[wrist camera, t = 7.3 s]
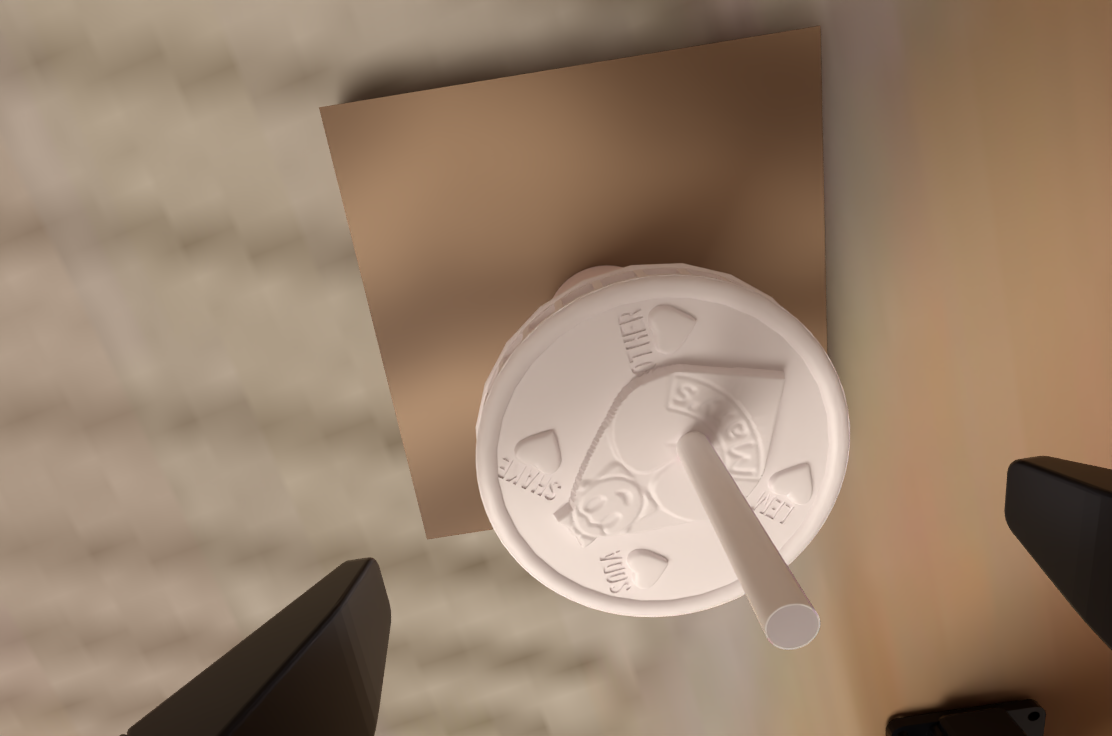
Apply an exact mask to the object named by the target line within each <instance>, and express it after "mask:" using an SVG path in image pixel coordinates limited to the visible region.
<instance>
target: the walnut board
mask: <svg viewBox="0 0 1112 736" xmlns="http://www.w3.org/2000/svg"><path fill="white" fill-rule="evenodd" d="M319 109H320V113H321V117H322V121H323V125H324V129H325V133H326V137H327V141H328V145H329V149H330V153H331V157H332V161H333V165H334V169H335V173H336V177H337V181H338V185H339V189H340V193H341V197H342V201H343V205H344V209H345V213H346V217H347V221H348V225H349V229H350V233H351V237H352V241H353V245H354V249H355V253H356V257H357V261H358V265H359V269H360V273H361V277H362V281H363V285H364V289H365V293H366V297H367V301H368V305H369V309H370V313H371V317H372V321H373V325H374V329H375V333H376V337H377V341H378V345H379V349H380V353H381V357H382V361H383V365H384V369H385V373H386V377H387V381H388V385H389V389H390V393H391V397H392V401H393V405H394V409H395V413H396V417H397V421H398V425H399V429H400V433H401V437H402V441H403V445H404V449H405V453H406V457H407V461H408V465H409V469H410V473H411V477H412V481H413V485H414V489H415V493H416V497H417V501H418V505H419V509H420V513H421V517H422V521H423V525H424V529H425V533H426V537H427V539H433V538H439V537H446V536H452V535H459V534H465V533H472V532H479V531H485V530H492V529H493V527H492V525H491V523H490V520H489V518H488V516H487V514H486V511H485V508H484V505H483V502H482V499H481V495H480V491H479V486H478V481H477V472H476V442H477V439H476V423H477V418H478V413H479V409H480V404H481V399H482V394H483V389H484V385H485V382H486V380H487V378H488V377H489V375H490V373H491V371H492V369H493V367H494V365H495V363H496V361H497V359H498V358H499V356H500V354H501V352H502V350H503V348H504V346H505V344H506V342H507V341H508V340H509V339H510V338H511V337H512V336H513V335H514V334H515V333H516V332H517V331H518V330H519V328H520V327H521V326H522V325H523V324H524V323H525V322H526V321H527V320H528V319H529V318H530V317H531V316H532V315H533V314H534V312H535V311H536V310H537V309H538V308H539V307H540V306H542V305H543V304H545V303H547V302H548V301H550V300H551V299H552V298H553V297H554V295H555V293H556V292H557V291H558V289H559V288H560V287H561V286H562V285H563V283H565V282H566V281H567V280H568V279H569V278H570V277H572V276H573V275H575V274H577V273H578V272H580V271H583V270H585V269H588V268H591V267H595V266H604V265H610V266H619V267H623V268H624V267H627V266H630V265H647V264H672V263H684V264H688V265H692V266H697V267H701V268H705V269H710V270H714V271H718V272H723V273H727V274H731V275H733V276H734V277H736V278H738V279H740V280H742V281H743V282H745V283H747V284H749V285H751V286H752V287H754V288H756V289H758V290H760V291H761V292H763V293H765V294H767V295H769V296H770V297H772V298H773V299H774V300H775V301H776V302H777V303H778V304H779V305H780V306H781V307H783V308H784V309H786V310H787V311H788V312H789V313H791V314H792V315H793V316H794V317H796V318H797V319H798V320H799V321H800V322H801V323H802V324H803V325H804V326H805V327H806V328H807V329H808V330H809V331H810V332H811V333H812V334H813V336H814V337H815V338H816V339H817V341H818V342H819V343H820V344H821V346H822V347H823V349H824V350H825V352H826V353H827V319H826V270H825V222H824V174H823V125H822V77H821V29H820V26H815V27H809V28H803V29H796V30H790V31H784V32H778V33H772V34H766V35H760V36H754V37H748V38H741V39H735V40H729V41H723V42H717V43H711V44H705V45H699V46H692V47H686V48H680V49H674V50H668V51H662V52H656V53H650V54H644V55H637V56H631V57H625V58H619V59H613V60H607V61H601V62H595V63H588V64H582V65H576V66H570V67H564V68H558V69H552V70H546V71H539V72H533V73H527V74H521V75H515V76H509V77H503V78H497V79H491V80H484V81H478V82H472V83H466V84H460V85H454V86H448V87H442V88H435V89H429V90H423V91H417V92H411V93H405V94H399V95H393V96H387V97H380V98H374V99H368V100H362V101H356V102H350V103H344V104H338V105H331V106H325V107H319Z"/></svg>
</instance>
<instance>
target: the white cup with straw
mask: <svg viewBox="0 0 1112 736" xmlns="http://www.w3.org/2000/svg"><path fill="white" fill-rule="evenodd" d="M476 439H477V442H476V472H477V481H478V486H479V491H480V495H481V499H482V502H483V505H484V508H485V511H486V514H487V516H488V518H489V520H490V523H491V525H492V527H493V529H494V530H495V532H496V534H497V536H498V537H499V539H500V541H501V542H502V543H503V545H504V546H505V547H506V549H507V550H508V552H509V553H510V554H511V555H512V556H513V558H514V559H515V560H516V561H517V562H518V563H519V564H520V565H521V566H522V567H523V568H524V569H525V570H526V571H527V572H528V573H529V574H531V575H532V576H533V577H534V578H535V579H537V580H538V581H539V582H541V583H542V584H544V585H545V586H546V587H548V588H550V589H551V590H553V591H555V592H556V593H558V594H560V595H562V596H564V597H566V598H568V599H570V600H572V601H574V602H576V603H579V604H582V605H584V606H587V607H590V608H593V609H597V610H600V611H604V612H609V613H614V614H619V615H627V616H636V617H664V616H675V615H682V614H689V613H693V612H698V611H702V610H706V609H709V608H713V607H716V606H719V605H722V604H724V603H727V602H729V601H732V600H734V599H737V598H739V597H741V596H743V595H745V594H746V596H747V598H748V600H749V602H750V604H751V607H752V609H753V611H754V613H755V615H756V617H757V619H758V621H759V623H760V625H761V627H762V629H763V631H764V633H765V635H766V637H767V639H768V641H769V642H770V643H771V644H772V645H774V646H776V647H778V648H781V649H786V650H792V649H798V648H800V647H803V646H805V645H807V644H808V643H810V642H811V641H812V640H813V639H814V638H815V637H816V635H817V634H818V632H819V629H820V618H819V615H818V614H817V612H816V611H815V609H814V607H813V606H812V604H811V603H810V601H809V599H808V598H807V596H806V595H805V593H804V591H803V590H802V588H801V587H800V585H799V583H798V582H797V580H796V579H795V577H794V575H793V574H792V572H791V571H790V569H789V567H788V565H789V564H790V563H791V562H792V561H794V560H795V558H796V557H797V556H798V555H799V554H800V553H801V552H802V551H803V550H804V549H805V548H806V547H807V546H808V544H809V543H810V542H811V541H812V539H813V538H814V537H815V536H816V534H817V533H818V531H819V530H820V528H821V527H822V525H823V524H824V522H825V521H826V519H827V517H828V515H829V514H830V512H831V510H832V508H833V506H834V504H835V501H836V499H837V497H838V494H839V492H840V489H841V486H842V483H843V480H844V476H845V472H846V467H847V463H848V457H849V447H850V422H849V413H848V407H847V402H846V398H845V394H844V390H843V387H842V385H841V382H840V379H839V376H838V374H837V372H836V370H835V368H834V366H833V364H832V362H831V360H830V358H829V357H828V355H827V353H826V352H825V350H824V349H823V347H822V346H821V344H820V343H819V342H818V341H817V339H816V338H815V337H814V336H813V334H812V333H811V332H810V331H809V330H808V329H807V328H806V327H805V326H804V325H803V324H802V323H801V322H800V321H799V320H798V319H797V318H796V317H794V316H793V315H792V314H791V313H789V312H788V311H787V310H786V309H784V308H783V307H781V306H780V305H779V304H778V303H777V302H776V301H775V300H774V299H773V298H772V297H770V296H769V295H767V294H765V293H763V292H761V291H760V290H758V289H756V288H754V287H752V286H751V285H749V284H747V283H745V282H743V281H742V280H740V279H738V278H736V277H734V276H733V275H731V274H727V273H723V272H718V271H714V270H710V269H705V268H701V267H697V266H692V265H688V264H684V263H672V264H647V265H630V266H627V267H624V268H623V267H619V266H610V265H604V266H595V267H591V268H588V269H585V270H583V271H580V272H578V273H577V274H575V275H573V276H572V277H570V278H569V279H568V280H567V281H566V282H565V283H563V285H562V286H561V287H560V288H559V289H558V291H557V292H556V293H555V295H554V297H553V298H552V299H551V300H550V301H548V302H547V303H545V304H543V305H542V306H540V307H539V308H538V309H537V310H536V311H535V312H534V314H533V315H532V316H531V317H530V318H529V319H528V320H527V321H526V322H525V323H524V324H523V325H522V326H521V327H520V328H519V330H518V331H517V332H516V333H515V334H514V335H513V336H512V337H511V338H510V339H509V340H508V341H507V342H506V344H505V346H504V348H503V350H502V352H501V354H500V356H499V358H498V359H497V361H496V363H495V365H494V367H493V369H492V371H491V373H490V375H489V377H488V378H487V380H486V382H485V385H484V389H483V394H482V399H481V404H480V409H479V413H478V418H477V423H476Z"/></svg>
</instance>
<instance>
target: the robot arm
mask: <svg viewBox="0 0 1112 736" xmlns="http://www.w3.org/2000/svg"><path fill="white" fill-rule="evenodd" d="M1005 518H1006V521H1007V524H1008V526H1009V528H1010V530H1011V531H1012V533H1013V534H1014V535H1015V536H1016V537H1017V539H1018V540H1019V541H1020V542H1021V544H1022V545H1023V546H1024V547H1025V549H1026V550H1027V551H1028V552H1029V554H1030V555H1031V556H1032V557H1033V559H1034V560H1035V561H1036V562H1037V564H1038V565H1039V566H1040V567H1041V569H1042V570H1043V571H1044V572H1045V574H1046V575H1047V576H1048V577H1049V578H1050V580H1051V581H1052V582H1053V583H1054V585H1055V586H1056V587H1057V588H1058V590H1059V591H1060V592H1061V593H1062V595H1063V596H1064V597H1065V598H1066V600H1067V601H1068V602H1069V603H1070V605H1071V606H1072V607H1073V608H1074V609H1075V611H1076V612H1077V613H1078V614H1079V615H1080V616H1081V618H1082V619H1083V620H1084V621H1085V622H1086V623H1087V625H1088V626H1089V627H1090V628H1091V629H1092V630H1093V631H1094V632H1095V633H1096V634H1097V635H1098V636H1099V638H1100V639H1101V640H1102V641H1103V642H1104V643H1105V644H1106V645H1107V646H1108V647H1109V648H1110V649H1111V650H1112V469H1107V468H1102V467H1097V466H1092V465H1087V464H1083V463H1078V462H1073V461H1068V460H1063V459H1059V458H1054V457H1049V456H1036V457H1030V458H1023V459H1018V460H1015V461H1013V462H1012V463H1011V464H1010V466H1009V468H1008V472H1007V484H1006V498H1005ZM390 626H391V609H390V604H389V600H388V596H387V593H386V589H385V586H384V582H383V578H382V575H381V571H380V568H379V565H378V563H377V561H376V560H375V559H374V558H362V559H355V560H348V561H346V562H344V563H342V564H341V565H340V566H338V567H337V568H336V569H335V570H333V571H332V572H331V573H329V574H328V575H327V576H326V577H324V578H323V579H322V580H320V581H319V582H318V583H316V584H315V585H314V586H313V587H311V588H310V589H309V590H307V591H306V592H305V593H304V594H302V595H301V596H300V597H298V598H297V599H296V600H294V601H293V602H292V603H291V604H289V605H288V606H287V607H285V608H284V609H283V610H282V611H280V612H279V613H278V614H276V615H275V616H274V617H272V618H271V619H270V620H269V621H267V622H266V623H265V624H263V625H262V626H261V627H260V628H258V629H257V630H256V631H254V632H253V633H252V634H251V635H249V636H248V637H247V638H245V639H244V640H243V641H241V642H240V643H239V644H238V645H236V646H235V647H234V648H232V649H231V650H230V651H229V652H227V653H226V654H225V655H223V656H222V657H221V658H219V659H218V660H217V661H216V662H214V663H213V664H212V665H210V666H209V667H208V668H207V669H205V670H204V671H203V672H201V673H200V674H199V675H197V676H196V677H195V678H194V679H192V680H191V681H190V682H188V683H187V684H186V685H185V686H183V687H182V688H181V689H179V690H178V691H177V692H176V693H174V694H173V695H172V696H170V697H169V698H168V699H166V700H165V701H164V702H163V703H161V704H160V705H159V706H157V707H156V708H155V709H154V710H152V711H151V712H150V713H148V714H147V715H146V716H144V717H143V718H142V719H141V720H139V721H138V722H137V723H135V724H134V725H133V726H132V727H130V728H129V729H128V731H127V735H126V734H121V735H120V736H374V734H375V730H376V725H377V719H378V713H379V707H380V699H381V692H382V684H383V677H384V670H385V662H386V655H387V648H388V640H389V633H390ZM1045 717H1046V713H1045V710H1044V709H1043V708H1042V707H1041V706H1040V705H1039V704H1038V703H1037V702H1036V701H1035V700H1032V699H1026V700H1020V701H1013V702H1006V703H999V704H992V705H986V706H979V707H972V708H965V709H959V710H952V711H945V712H938V713H931V714H925V715H918V716H911V717H904V718H898V719H894V720H892V721H891V722H889V724H888V725H887V727H886V736H1043V735H1044V726H1045Z"/></svg>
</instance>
